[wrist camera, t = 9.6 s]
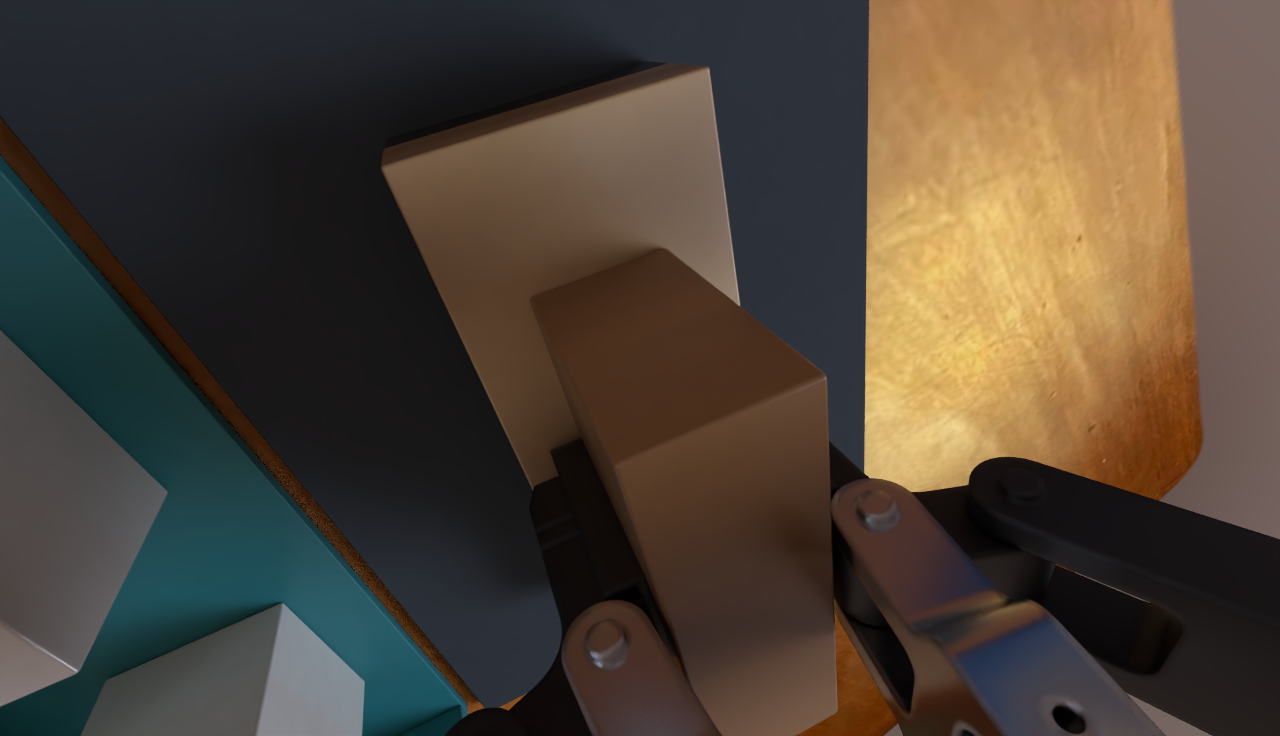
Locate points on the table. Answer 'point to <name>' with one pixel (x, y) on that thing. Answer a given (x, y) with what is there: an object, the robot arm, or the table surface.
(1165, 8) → the table surface
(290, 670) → the crumb
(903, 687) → the robot arm
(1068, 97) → the table surface
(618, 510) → the brush
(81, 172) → the mat
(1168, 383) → the table surface
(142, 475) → the crumb
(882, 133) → the table surface
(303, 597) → the dustpan
